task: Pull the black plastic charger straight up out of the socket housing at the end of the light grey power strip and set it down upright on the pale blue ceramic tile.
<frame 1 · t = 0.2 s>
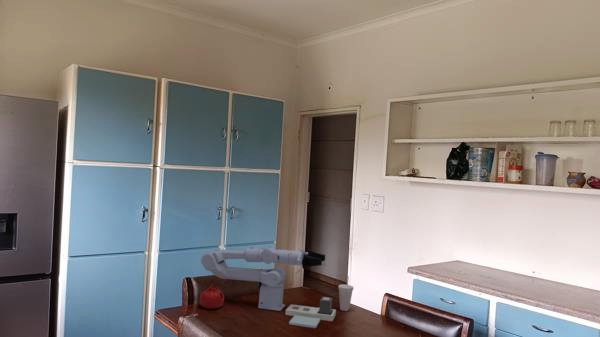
hand: (323, 260, 175), 21 cm above the table, tool horizontal, fingers open, 7 cm apart
charger: (325, 316, 171), resting in power strip
power strip: (312, 315, 173), on the table
tile: (304, 322, 163), on the table
smoothie: (344, 310, 183), on the table
pomegranate: (211, 307, 175), on the table
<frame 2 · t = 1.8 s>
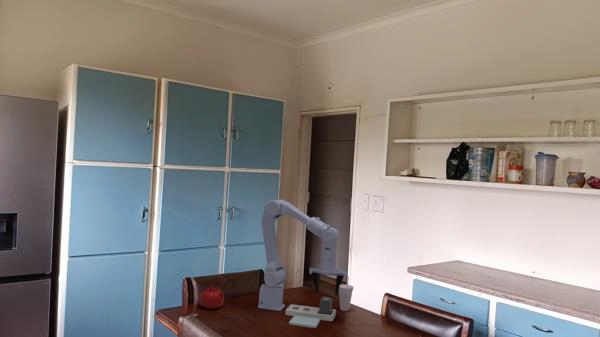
hand: (326, 293, 172), 9 cm above the table, tool pointing down, fingers open, 7 cm apart
nothing on the table moved.
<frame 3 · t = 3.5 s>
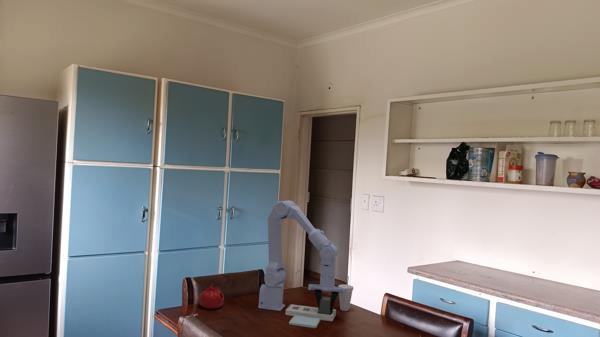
hand: (325, 310, 172), 3 cm above the table, tool pointing down, fingers closed on charger, 4 cm apart
charger: (325, 316, 171), resting in power strip, touching gripper
everything else where it was.
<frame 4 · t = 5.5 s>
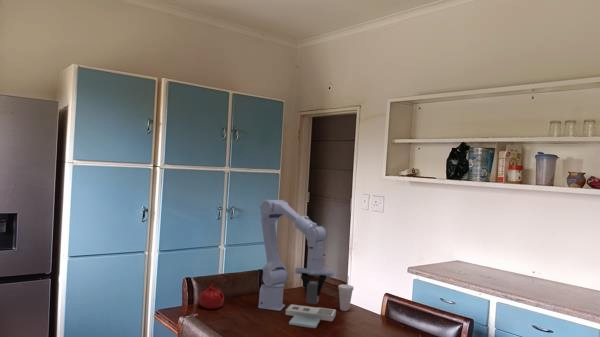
hand: (312, 294, 166), 10 cm above the table, tool pointing down, fingers closed on charger, 4 cm apart
charger: (312, 301, 166), point 7 cm above the table, touching gripper
everything else where it was.
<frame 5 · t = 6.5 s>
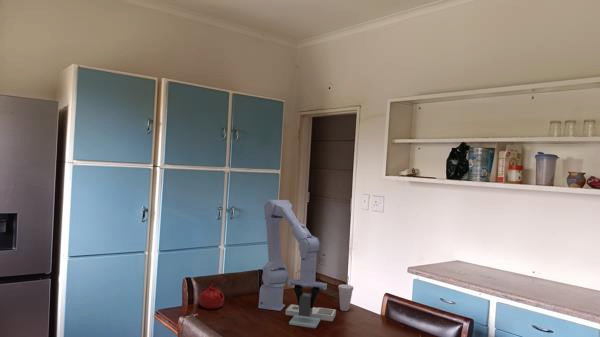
hand: (305, 306, 163), 6 cm above the table, tool pointing down, fingers closed on charger, 4 cm apart
charger: (305, 313, 163), point 3 cm above the table, touching gripper
everything else where it was.
when the fingers open (4 cm above the table, at t = 7.6 s): charger stays where it is, resting on tile.
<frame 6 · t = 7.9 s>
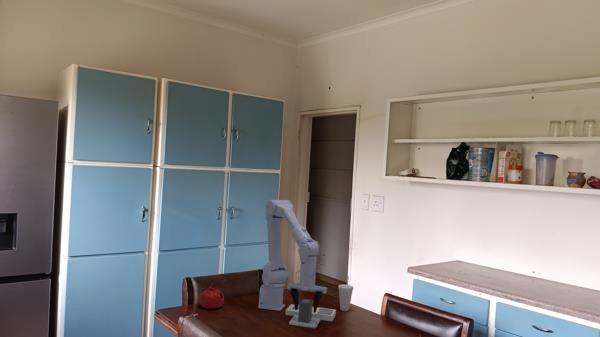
hand: (305, 310, 163), 4 cm above the table, tool pointing down, fingers open, 6 cm apart
charger: (305, 320, 163), point 1 cm above the table, touching tile
everything else where it was.
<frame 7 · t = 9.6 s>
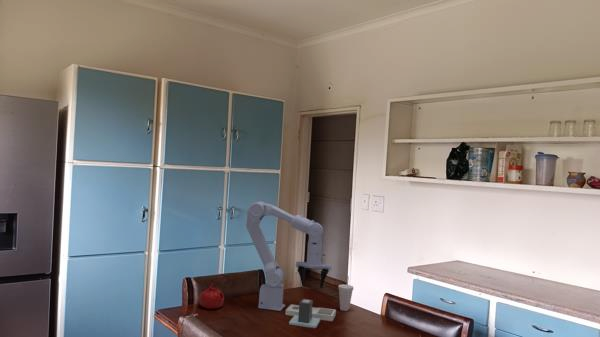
hand: (312, 286, 178), 10 cm above the table, tool pointing down, fingers open, 7 cm apart
nothing on the table moved.
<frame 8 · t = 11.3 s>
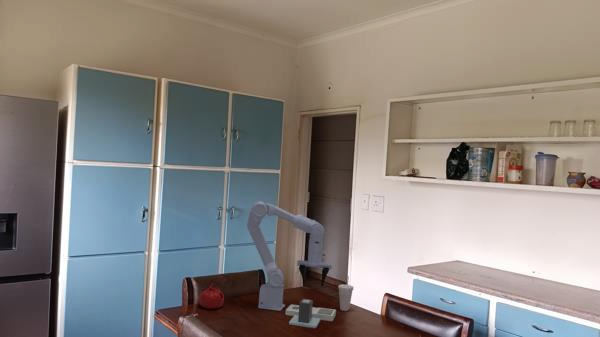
hand: (313, 284, 181), 10 cm above the table, tool pointing down, fingers open, 7 cm apart
nothing on the table moved.
at the end: charger 0.1 cm off-centre on the tile, point 0.8 cm above the tile's base; charger tilted 0°; the gripper is holding nothing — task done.
